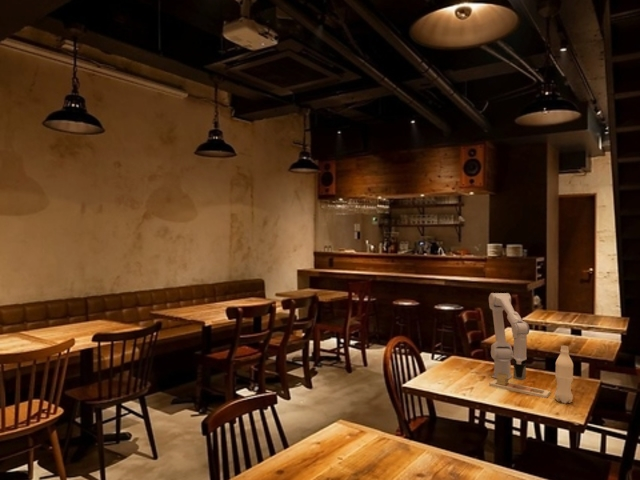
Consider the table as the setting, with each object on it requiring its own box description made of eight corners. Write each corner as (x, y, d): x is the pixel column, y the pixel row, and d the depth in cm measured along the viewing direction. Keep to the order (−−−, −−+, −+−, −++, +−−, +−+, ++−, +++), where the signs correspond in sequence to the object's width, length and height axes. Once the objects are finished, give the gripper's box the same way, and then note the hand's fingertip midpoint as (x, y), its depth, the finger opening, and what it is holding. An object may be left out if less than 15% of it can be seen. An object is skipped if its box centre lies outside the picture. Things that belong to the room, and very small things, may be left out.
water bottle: (572, 400, 208) (573, 345, 208) (573, 405, 202) (574, 348, 201) (554, 397, 211) (555, 343, 211) (555, 402, 205) (556, 347, 204)
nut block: (517, 376, 224) (518, 364, 224) (525, 378, 221) (525, 366, 221) (513, 378, 222) (513, 365, 222) (521, 380, 219) (521, 367, 219)
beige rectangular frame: (494, 381, 233) (494, 379, 233) (550, 393, 216) (550, 391, 216) (489, 385, 227) (489, 383, 227) (546, 398, 210) (546, 395, 210)
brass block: (499, 384, 230) (499, 372, 229) (507, 386, 227) (508, 373, 227) (496, 386, 226) (497, 374, 226) (505, 388, 224) (505, 375, 224)
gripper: (512, 343, 230) (511, 370, 230) (509, 349, 217) (509, 378, 217) (527, 345, 226) (527, 372, 227) (526, 351, 213) (525, 380, 214)
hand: (519, 375), depth 221 cm, fingers closed on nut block, 5 cm apart
